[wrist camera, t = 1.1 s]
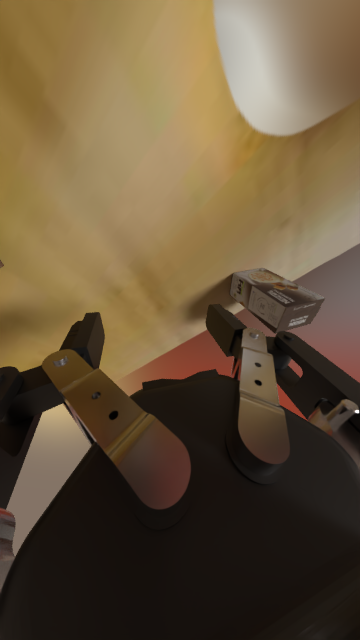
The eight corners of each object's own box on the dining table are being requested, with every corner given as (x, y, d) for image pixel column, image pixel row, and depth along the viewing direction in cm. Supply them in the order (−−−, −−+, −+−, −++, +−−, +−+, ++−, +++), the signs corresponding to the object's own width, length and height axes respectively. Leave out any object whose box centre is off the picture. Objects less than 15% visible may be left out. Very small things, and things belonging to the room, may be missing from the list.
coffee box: (228, 295, 43) (272, 335, 30) (232, 272, 38) (285, 307, 26) (258, 289, 44) (311, 324, 32) (264, 266, 40) (327, 297, 28)
